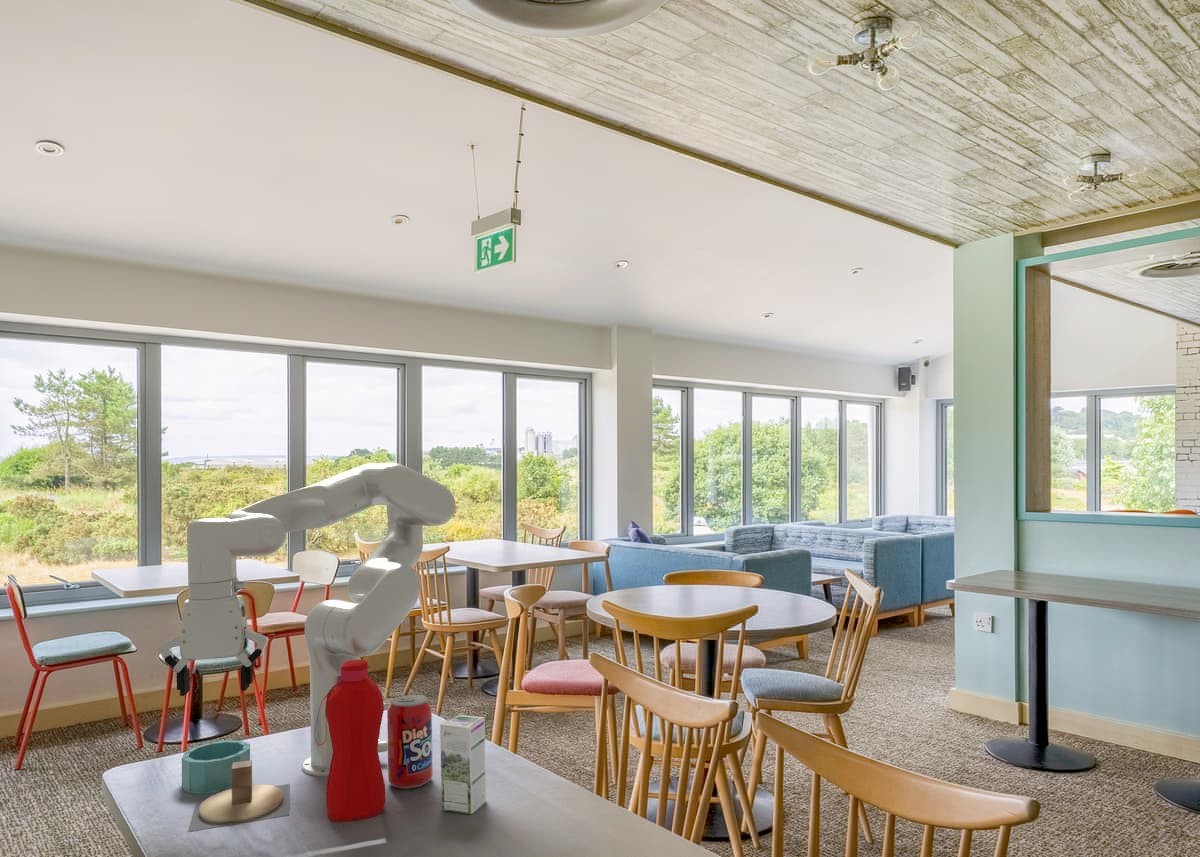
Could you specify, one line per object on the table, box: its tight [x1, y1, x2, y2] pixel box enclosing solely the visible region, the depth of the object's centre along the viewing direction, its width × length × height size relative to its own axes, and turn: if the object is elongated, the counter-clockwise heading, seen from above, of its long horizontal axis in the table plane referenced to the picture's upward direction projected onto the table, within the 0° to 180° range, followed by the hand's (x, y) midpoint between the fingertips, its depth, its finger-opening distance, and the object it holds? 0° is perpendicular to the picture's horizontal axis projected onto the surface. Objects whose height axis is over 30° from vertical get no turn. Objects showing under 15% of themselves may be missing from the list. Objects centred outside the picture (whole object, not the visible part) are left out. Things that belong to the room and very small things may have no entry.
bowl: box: [181, 740, 251, 795], centre depth 150 cm, size 11×11×6 cm
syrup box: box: [439, 714, 487, 815], centre depth 138 cm, size 6×6×14 cm
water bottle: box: [315, 659, 386, 823], centre depth 136 cm, size 9×11×25 cm
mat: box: [187, 783, 291, 833], centre depth 138 cm, size 15×14×1 cm
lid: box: [199, 759, 283, 823], centre depth 138 cm, size 13×13×7 cm
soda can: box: [386, 694, 434, 790], centre depth 148 cm, size 8×8×15 cm
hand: (215, 691), depth 139 cm, fingers open, 9 cm apart
